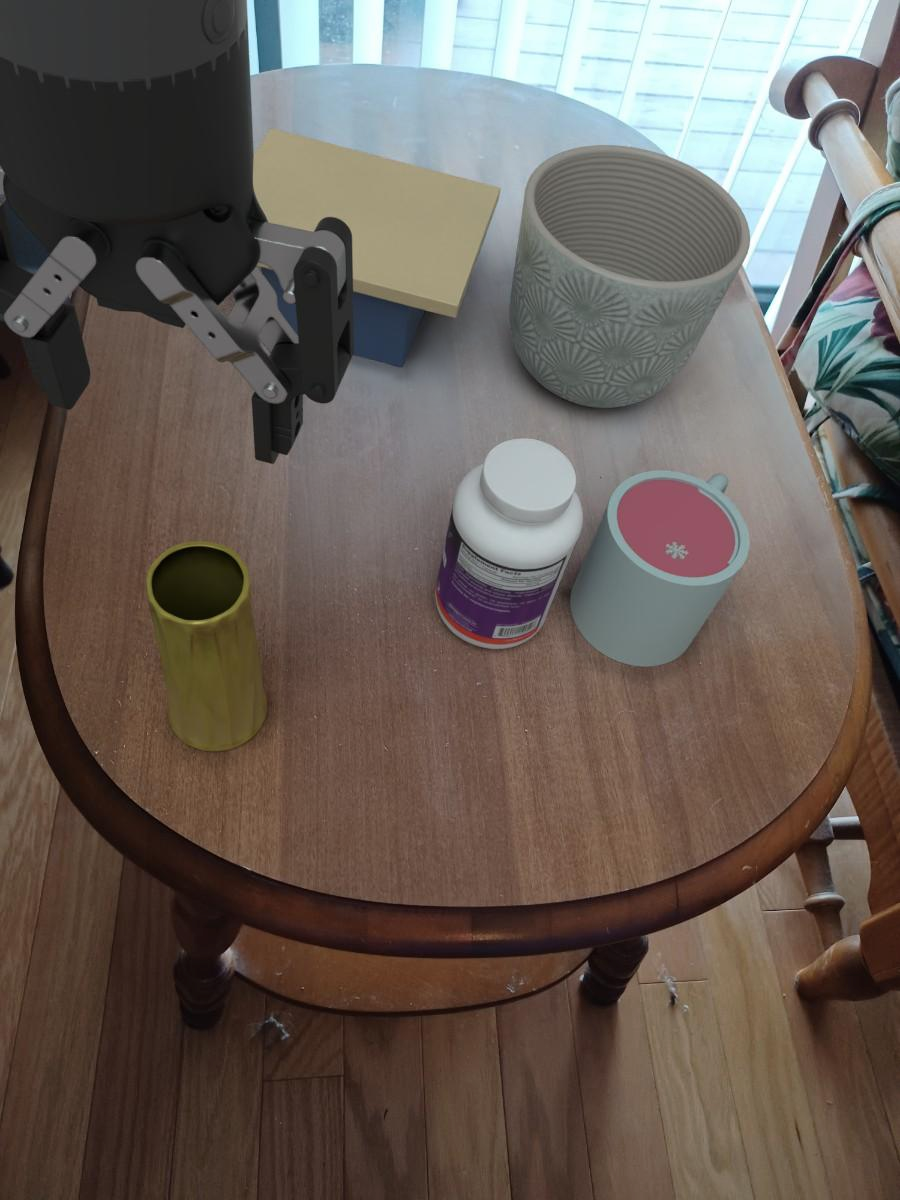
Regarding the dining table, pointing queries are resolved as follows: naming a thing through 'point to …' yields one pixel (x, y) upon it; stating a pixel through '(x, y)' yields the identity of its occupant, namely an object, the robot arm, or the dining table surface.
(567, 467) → the pill bottle
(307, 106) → the dining table surface
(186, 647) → the vase
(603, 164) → the planter
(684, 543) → the mug
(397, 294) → the box
